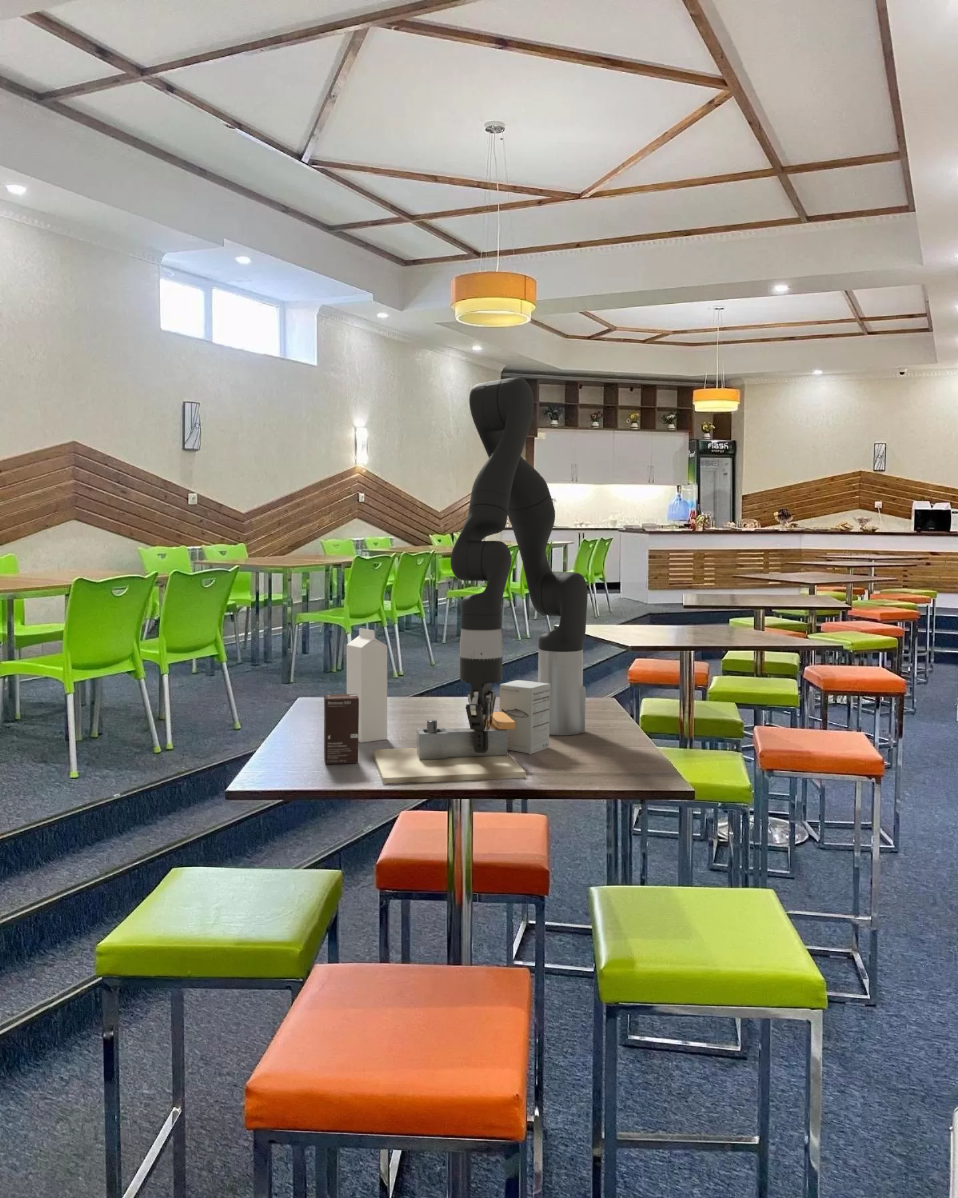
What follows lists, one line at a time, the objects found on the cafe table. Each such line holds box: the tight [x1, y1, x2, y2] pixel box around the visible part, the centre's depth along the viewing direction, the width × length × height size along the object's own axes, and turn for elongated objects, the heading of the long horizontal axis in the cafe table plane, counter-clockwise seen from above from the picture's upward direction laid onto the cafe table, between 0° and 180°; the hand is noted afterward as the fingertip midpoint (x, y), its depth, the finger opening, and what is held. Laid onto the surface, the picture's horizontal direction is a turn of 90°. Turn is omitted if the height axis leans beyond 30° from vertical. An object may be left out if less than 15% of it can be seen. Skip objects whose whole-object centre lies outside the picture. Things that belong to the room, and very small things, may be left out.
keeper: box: [490, 711, 515, 729], centre depth 175 cm, size 4×10×8 cm, turn 11°
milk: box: [346, 627, 388, 744], centre depth 190 cm, size 6×6×22 cm
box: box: [323, 693, 359, 765], centre depth 171 cm, size 6×4×12 cm
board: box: [372, 747, 526, 785], centre depth 169 cm, size 24×21×1 cm
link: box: [416, 727, 508, 759], centre depth 172 cm, size 16×5×4 cm, turn 99°
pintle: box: [426, 719, 438, 760], centre depth 171 cm, size 4×4×8 cm
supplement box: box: [498, 679, 550, 755], centre depth 182 cm, size 7×7×13 cm
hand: (481, 751), depth 169 cm, fingers closed
